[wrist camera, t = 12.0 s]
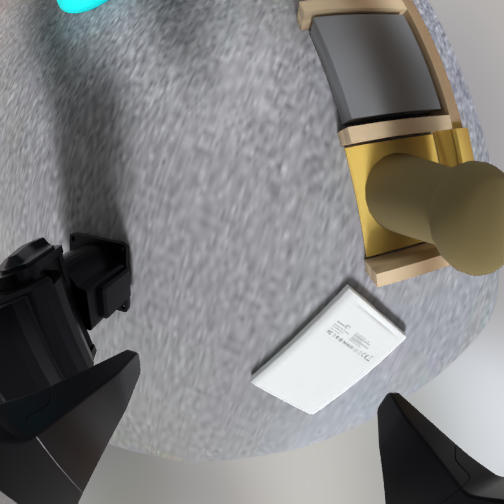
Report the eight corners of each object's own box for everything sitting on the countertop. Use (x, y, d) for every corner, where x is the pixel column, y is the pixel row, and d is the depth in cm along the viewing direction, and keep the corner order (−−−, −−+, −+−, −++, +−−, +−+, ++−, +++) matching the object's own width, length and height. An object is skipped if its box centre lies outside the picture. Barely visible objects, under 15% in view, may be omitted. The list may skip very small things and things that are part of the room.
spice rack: (365, 271, 20) (379, 290, 17) (296, 20, 15) (299, -3, 12) (457, 244, 19) (480, 257, 15) (399, 15, 13) (415, -3, 10)
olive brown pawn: (384, 246, 19) (463, 321, 9) (350, 174, 18) (429, 190, 8) (443, 210, 18) (540, 253, 8) (414, 140, 17) (518, 133, 6)
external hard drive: (251, 371, 25) (345, 280, 21) (312, 404, 26) (402, 329, 22) (250, 382, 23) (350, 289, 20) (313, 415, 24) (408, 339, 21)
